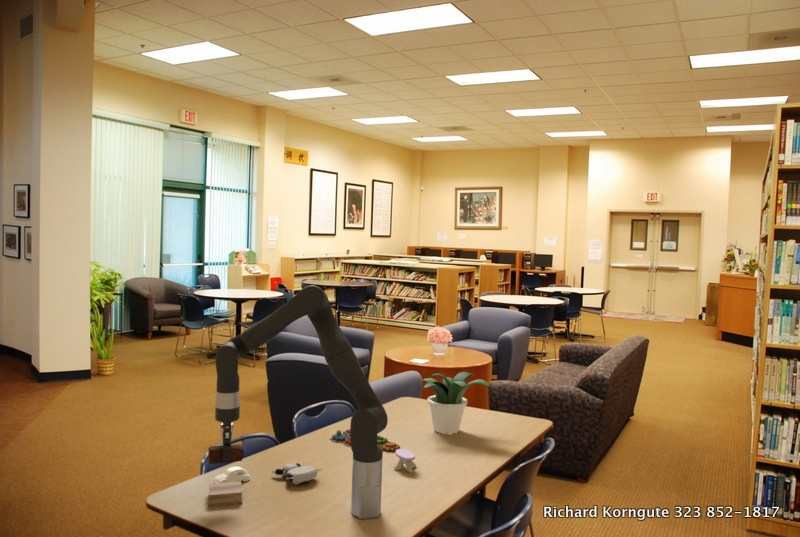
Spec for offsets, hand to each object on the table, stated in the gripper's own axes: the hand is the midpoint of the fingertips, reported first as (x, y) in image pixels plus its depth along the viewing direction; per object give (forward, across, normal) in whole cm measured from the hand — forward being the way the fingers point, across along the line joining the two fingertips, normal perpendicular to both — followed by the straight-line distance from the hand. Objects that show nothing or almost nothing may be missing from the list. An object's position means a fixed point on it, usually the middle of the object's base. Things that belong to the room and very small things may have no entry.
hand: (226, 457), depth 194 cm
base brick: (+13, 0, 0) cm, 13 cm away
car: (+14, +14, -2) cm, 20 cm away
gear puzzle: (+14, +44, -57) cm, 73 cm away
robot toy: (+14, +12, -24) cm, 30 cm away
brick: (+1, 0, 0) cm, 1 cm away
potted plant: (+14, +53, -99) cm, 113 cm away
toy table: (+14, +14, -65) cm, 68 cm away
